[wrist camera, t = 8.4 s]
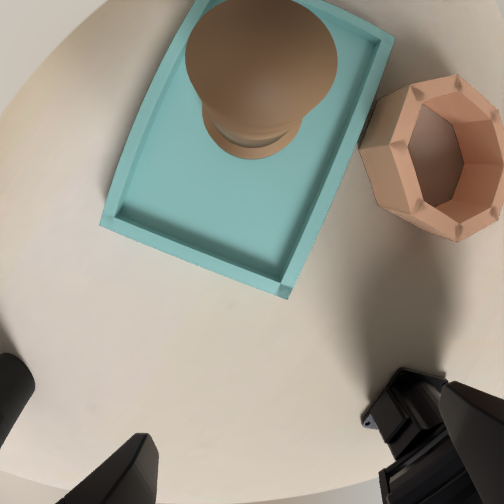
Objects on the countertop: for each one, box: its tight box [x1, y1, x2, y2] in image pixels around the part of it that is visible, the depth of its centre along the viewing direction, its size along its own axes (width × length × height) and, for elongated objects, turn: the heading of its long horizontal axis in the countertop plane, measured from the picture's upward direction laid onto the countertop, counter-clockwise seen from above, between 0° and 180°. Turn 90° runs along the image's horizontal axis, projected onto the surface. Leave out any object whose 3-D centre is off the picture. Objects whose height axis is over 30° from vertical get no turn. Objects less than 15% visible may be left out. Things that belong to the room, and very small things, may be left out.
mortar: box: [359, 74, 504, 243], centre depth 17 cm, size 9×9×4 cm
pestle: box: [185, 0, 338, 160], centre depth 12 cm, size 5×5×10 cm
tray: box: [99, 0, 395, 300], centre depth 17 cm, size 12×18×2 cm, turn 157°
